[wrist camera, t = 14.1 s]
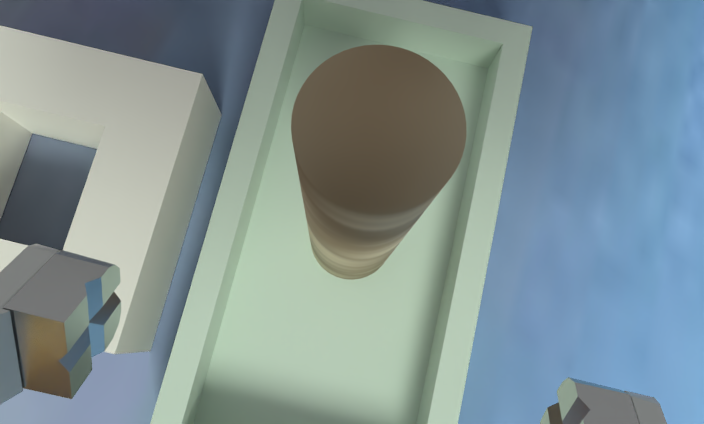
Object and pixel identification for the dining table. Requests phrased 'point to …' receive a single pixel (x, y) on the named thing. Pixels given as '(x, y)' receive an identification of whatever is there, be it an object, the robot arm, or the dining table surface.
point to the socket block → (112, 159)
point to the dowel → (372, 152)
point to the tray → (301, 265)
